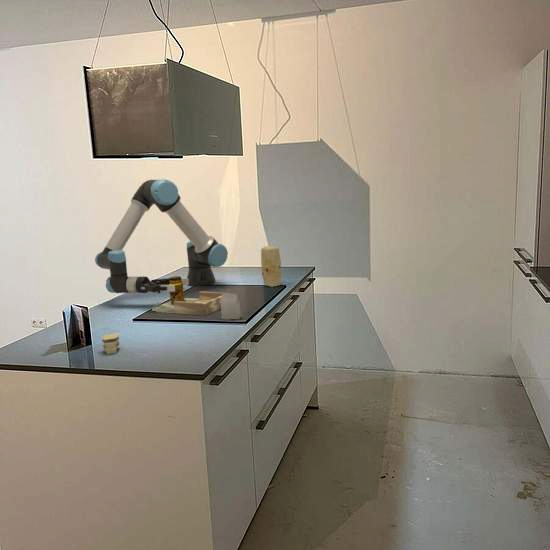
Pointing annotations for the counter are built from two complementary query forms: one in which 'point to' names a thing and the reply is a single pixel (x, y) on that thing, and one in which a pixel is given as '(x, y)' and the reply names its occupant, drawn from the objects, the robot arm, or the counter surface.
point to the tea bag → (230, 306)
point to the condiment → (176, 290)
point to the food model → (271, 266)
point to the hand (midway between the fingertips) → (181, 284)
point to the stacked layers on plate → (111, 343)
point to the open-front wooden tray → (194, 304)
